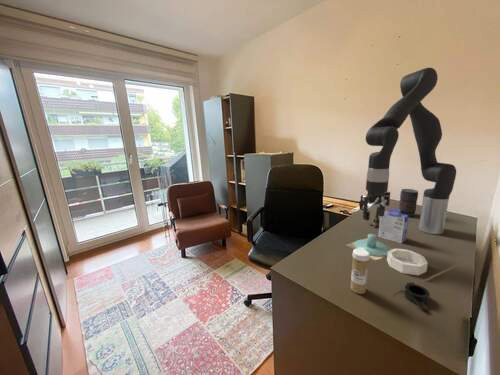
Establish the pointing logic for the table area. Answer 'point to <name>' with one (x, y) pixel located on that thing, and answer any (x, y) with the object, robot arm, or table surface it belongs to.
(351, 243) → the mat
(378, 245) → the lid
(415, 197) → the camera lens
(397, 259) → the bowl
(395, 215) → the ink cartridge box
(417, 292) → the duct tape
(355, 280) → the sprinkles bottle
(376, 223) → the eiffel tower figurine
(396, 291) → the table surface
